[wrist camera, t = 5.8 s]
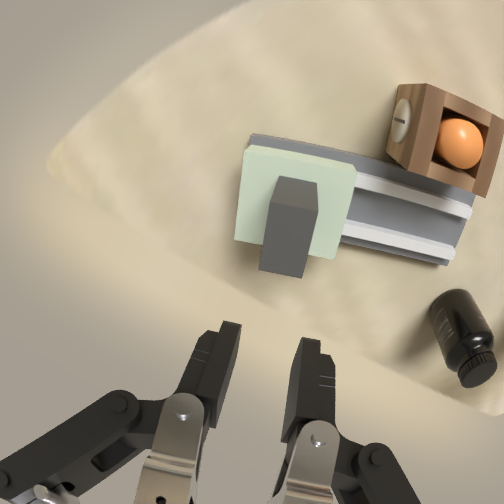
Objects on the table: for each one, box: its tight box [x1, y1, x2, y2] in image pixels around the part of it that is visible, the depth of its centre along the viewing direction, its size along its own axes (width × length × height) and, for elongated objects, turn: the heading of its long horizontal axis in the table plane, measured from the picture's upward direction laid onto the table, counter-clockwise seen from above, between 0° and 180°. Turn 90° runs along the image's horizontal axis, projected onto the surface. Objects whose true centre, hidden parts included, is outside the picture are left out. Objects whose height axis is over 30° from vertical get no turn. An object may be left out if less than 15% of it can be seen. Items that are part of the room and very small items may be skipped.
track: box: [249, 133, 476, 266], centre depth 28 cm, size 24×9×3 cm, turn 83°
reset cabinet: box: [385, 84, 504, 198], centre depth 21 cm, size 8×7×8 cm
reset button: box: [433, 115, 483, 169], centre depth 19 cm, size 4×4×4 cm
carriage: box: [234, 145, 358, 279], centre depth 23 cm, size 9×8×9 cm
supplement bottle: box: [430, 289, 497, 388], centre depth 28 cm, size 7×7×12 cm
